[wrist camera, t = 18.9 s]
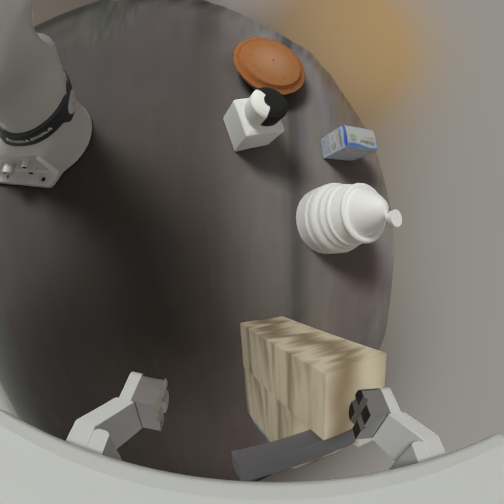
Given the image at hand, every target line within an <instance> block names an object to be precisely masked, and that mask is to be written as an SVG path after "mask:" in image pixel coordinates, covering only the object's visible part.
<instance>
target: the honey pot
mask: <svg viewBox="0 0 504 504" xmlns="http://www.w3.org/2000/svg"><path fill="white" fill-rule="evenodd" d="M296 222H297V228H298V231H299V234H300V236H301V238H302V239H303V241H304V242H305V244H306V245H307V246H308V247H310V248H311V249H312V250H314V251H316V252H318V253H323V254H334V253H345V252H349V251H351V250H353V249H355V248H356V247H357V246H359V245H361V244H363V243H365V244H366V243H372V242H374V241H376V240H377V239H378V238H379V237H380V236H381V234H382V232H383V230H384V227H385V223H386V222H387V223H388V224H389V225H390V226H393V227H399V226H400V225H401V223H402V217H401V214H400V212H399V211H398V210H392V211H390V212H389V206H388V204H387V202H386V200H385V199H384V198H383V197H381V196H380V195H379V194H378V193H377V192H376V190H375V189H373V188H372V187H371V186H369V185H367V184H364V183H355V184H352V185H351V184H341V183H330V184H326V185H324V186H321V187H319V188H316V189H314V190H311V191H310V192H308V193H307V194H306V195H304V197H303V198H302V199H301V201H300V203H299V205H298V208H297V214H296Z"/></svg>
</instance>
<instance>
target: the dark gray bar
mask: <svg viewBox="0 0 504 504" xmlns="http://www.w3.org/2000/svg"><path fill="white" fill-rule="evenodd" d="M371 440H373V439H372V438H366V439H355V436H354V432H353V429H350V430H348V431H346V432H343V433H341V434H339V435H336V436H334V437H331V438H329V439H326V440H322V439H321V438H320V437H319V436H318V435H317V434H315V433H314V432H313V431H312V430H311V429H310V430H307V431H304V432H301V433H298V434H295V435H292V436H289V437H285V438H282V439H279V440H275V441H272V442H268V443H264V444H260V445H257V446H253V447H248V448H244V449H240V450H235V451H231V453H232V460H233V467H234V470H235V471H236V473H237V475H238V477H239V479H240V481H248V480H252V479H256V478H259V477H263V476H266V475H270V474H273V473H277V472H279V471H283V470H286V469H289V468H292V467H295V466H298V465H301V464H304V463H306V462H309V461H312V460H315V459H317V458H320V457H322V456H325V455H327V454H330V453H332V452H334V451H337V450H339V449H341V448H343V447H346V446H348V445H350V444H353V445H355V446H356V447H360V446H362V445H364V444H366V443H368V442H370V441H371Z"/></svg>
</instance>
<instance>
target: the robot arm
mask: <svg viewBox="0 0 504 504" xmlns="http://www.w3.org/2000/svg"><path fill="white" fill-rule="evenodd" d="M33 1H34V0H0V183H4V184H14V185H24V186H34V187H43V188H51V187H53V186H54V185H55V184H56V182H57V181H58V179H59V178H60V176H61V175H62V173H63V172H64V171H65V170H66V169H68V168H69V167H70V166H72V165H73V164H74V163H75V162H76V161H77V160H78V159H79V158H80V157H81V155H82V154H83V153H84V151H85V149H86V148H87V146H88V143H89V141H90V138H91V133H92V122H91V118H90V115H89V113H88V112H87V110H86V109H85V108H84V107H83V106H81V105H80V104H79V103H78V102H77V101H76V98H75V93H74V90H73V88H72V85H71V82H70V80H69V77H68V75H67V73H66V72H65V70H64V69H62V66H61V63H60V60H59V57H58V54H57V51H56V47H55V44H54V42H53V40H52V39H51V38H50V37H48V36H47V35H44V34H41V33H36V32H35V30H34V26H33V21H32V10H33ZM43 178H45V181H43V182H42V180H43ZM166 388H167V379H166V378H161V377H156V376H151V375H147V374H142V373H137V372H133V371H132V372H131V373H130V375H129V377H128V379H127V381H126V383H125V386H124V388H123V390H122V392H121V394H120V397H119V398H117V397H115V398H114V399H112V400H110V401H108V402H107V403H105V404H103V405H102V406H100V407H98V408H96V409H95V410H93V411H91V412H89V413H88V414H86V415H84V416H82V417H81V418H79V419H77V420H76V421H75V423H74V425H73V427H72V429H71V431H70V433H69V435H68V437H67V439H66V441H64V440H62V439H60V438H57V437H55V436H53V435H50V434H48V433H46V432H44V431H42V430H40V429H38V428H36V427H34V426H32V425H30V424H28V423H26V422H24V421H22V420H20V419H18V418H17V417H15V416H13V415H11V414H9V413H8V412H5V411H3V410H0V504H504V435H502V434H494V435H492V436H490V437H488V438H485V439H483V440H481V441H479V442H476V443H474V444H471V445H469V446H466V447H464V448H462V449H459V450H456V451H453V452H450V453H448V454H446V452H445V450H444V448H443V446H442V443H441V441H440V439H439V437H438V436H437V435H436V434H435V433H433V432H432V431H430V430H429V429H427V428H426V427H425V426H423V425H422V424H420V423H419V422H417V421H416V420H415V419H413V418H412V417H410V416H409V415H407V414H406V413H405V412H401V411H400V409H399V407H398V404H397V402H396V400H395V398H394V396H393V394H392V391H391V389H390V388H374V389H361V390H358V391H357V392H356V394H355V397H356V399H355V400H353V401H352V402H351V404H350V406H349V419H350V421H351V422H352V423H353V424H354V426H353V428H352V429H353V432H354V436H355V439H366V438H372V439H373V440H374V441H375V442H376V443H377V444H378V445H379V446H380V447H381V448H382V449H383V450H384V451H385V452H386V453H387V454H388V455H389V456H390V457H391V458H392V459H393V460H394V461H395V463H394V464H393V465H392V467H390V469H389V470H386V471H381V472H376V473H371V474H365V475H359V476H353V477H345V478H337V479H328V480H316V481H298V482H251V481H234V480H222V479H212V478H204V477H196V476H189V475H183V474H177V473H172V472H167V471H162V470H157V469H152V468H148V467H144V466H140V465H136V464H132V463H128V462H125V461H122V459H121V457H120V455H119V453H118V451H117V448H119V447H120V446H121V445H122V444H124V443H125V442H126V441H127V440H128V439H130V438H131V437H132V436H133V435H134V434H136V433H137V432H138V431H139V430H140V429H142V427H143V428H149V429H154V430H159V431H161V429H162V426H163V422H164V414H163V413H165V412H166V411H167V407H168V402H169V393H168V390H167V389H166Z"/></svg>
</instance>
